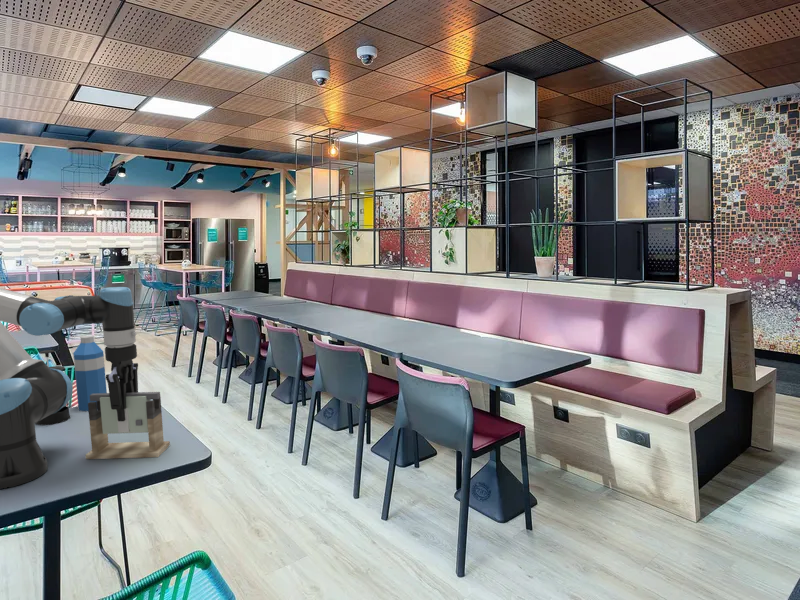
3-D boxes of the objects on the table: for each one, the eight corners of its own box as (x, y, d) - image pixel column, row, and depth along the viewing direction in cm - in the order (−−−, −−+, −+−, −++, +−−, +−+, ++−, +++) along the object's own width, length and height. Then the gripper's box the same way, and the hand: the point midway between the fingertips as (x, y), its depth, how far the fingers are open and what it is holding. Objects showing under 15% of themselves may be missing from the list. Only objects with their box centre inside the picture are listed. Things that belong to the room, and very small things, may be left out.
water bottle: (86, 412, 178) (80, 340, 175) (72, 408, 183) (65, 337, 180) (113, 405, 186) (108, 335, 183) (99, 401, 191) (93, 333, 188)
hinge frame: (85, 459, 141) (80, 405, 139) (101, 447, 149) (97, 395, 147) (158, 457, 142) (154, 403, 140) (169, 445, 150) (166, 394, 148)
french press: (72, 413, 179) (66, 346, 176) (72, 421, 171) (66, 351, 168) (30, 419, 173) (23, 350, 170) (28, 428, 165) (20, 356, 162)
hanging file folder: (89, 435, 142) (86, 397, 141) (97, 430, 146) (94, 392, 144) (158, 433, 143) (155, 395, 141) (163, 428, 146) (160, 391, 145)
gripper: (120, 351, 134) (127, 440, 137) (147, 338, 150) (153, 418, 153) (89, 351, 133) (97, 441, 136) (120, 339, 149) (127, 419, 152)
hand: (127, 429), depth 144 cm, fingers closed on hanging file folder, 3 cm apart
